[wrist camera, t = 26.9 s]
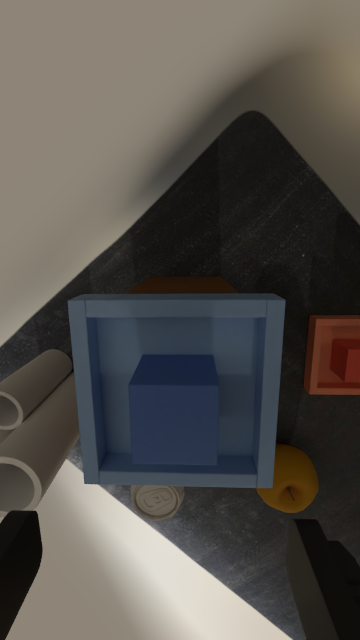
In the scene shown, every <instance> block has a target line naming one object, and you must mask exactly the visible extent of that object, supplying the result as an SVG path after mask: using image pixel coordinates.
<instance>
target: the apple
mask: <svg viewBox="0 0 360 640" xmlns="http://www.w3.org/2000/svg"><path fill="white" fill-rule="evenodd" d="M256 489H257V492H258V494H259V495H260V496H261V497H262V499H263V500H264V501H265V503H267V504H268V505H269V506H271V507H273V508H275V509H278V510H281V511H284V512H287V513H296V512H299V511H301V510H303V509H305V508H306V507H307V506H308V505H309V504H310V503H312V501H313V499H314V497H315V496H316V494H317V492H318V476H317V474H316V471H315V468H314V465H313V463H312V462H311V460H310V459H309V457H308V456H307V455H306V454H305V453H304V452H303V451H301V450H300V449H298V448H296V447H293V446H290V445H286V444H276V445H275V459H274V474H273V487H272V488H257V486H256Z"/></svg>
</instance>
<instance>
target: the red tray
mask: <svg viewBox="0 0 360 640" xmlns="http://www.w3.org/2000/svg"><path fill="white" fill-rule="evenodd" d="M333 339H360V315H310V318H309V329H308V340H307V352H306V363H305V374H304V385H303V387H304V388H305V390H306V391H307V392H308V393H309V394H333V395H360V382H344V381H343V380H342V379H340V378H339V377H338V376H337V375H336V374H335V373H334V372H332V371H331V370H330V361H331V351H332V342H333Z"/></svg>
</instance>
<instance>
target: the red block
mask: <svg viewBox="0 0 360 640" xmlns="http://www.w3.org/2000/svg"><path fill="white" fill-rule="evenodd" d="M330 370H331V371H332V372H334V373H335V374H336V375H337V376H338V377H339V378H340V379H342V380H343V381H344V382H360V339H333V342H332V351H331V361H330Z"/></svg>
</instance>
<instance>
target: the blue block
mask: <svg viewBox="0 0 360 640" xmlns="http://www.w3.org/2000/svg"><path fill="white" fill-rule="evenodd" d="M128 394H129V413H130V433H131V453H132V463H133V464H182V465H217V464H218V431H219V381H218V376H217V371H216V366H215V361H214V356H213V355H142V357H141V359H140V361H139V363H138V365H137V368H136V370H135V372H134V374H133V376H132V378H131V380H130V382H129V384H128Z"/></svg>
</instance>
